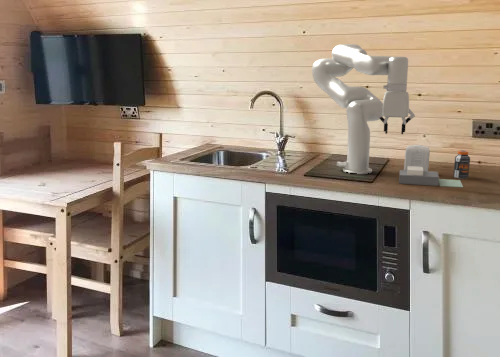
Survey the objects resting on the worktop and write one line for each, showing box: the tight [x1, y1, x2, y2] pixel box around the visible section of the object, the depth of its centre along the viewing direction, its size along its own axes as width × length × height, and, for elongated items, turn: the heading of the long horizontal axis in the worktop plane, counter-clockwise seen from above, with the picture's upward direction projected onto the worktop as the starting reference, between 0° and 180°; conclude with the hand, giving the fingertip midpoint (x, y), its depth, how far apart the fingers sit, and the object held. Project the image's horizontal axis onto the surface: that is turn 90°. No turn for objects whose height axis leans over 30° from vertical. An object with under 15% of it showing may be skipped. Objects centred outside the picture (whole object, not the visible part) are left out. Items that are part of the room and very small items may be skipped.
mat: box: [438, 178, 464, 188], centre depth 213 cm, size 8×12×1 cm
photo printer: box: [403, 144, 431, 171], centre depth 232 cm, size 10×4×12 cm, turn 67°
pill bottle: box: [453, 149, 471, 179], centre depth 223 cm, size 6×6×11 cm
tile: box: [407, 166, 423, 176], centre depth 215 cm, size 6×8×2 cm
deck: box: [398, 169, 440, 187], centre depth 216 cm, size 15×11×4 cm
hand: (394, 133), depth 214 cm, fingers open, 5 cm apart
